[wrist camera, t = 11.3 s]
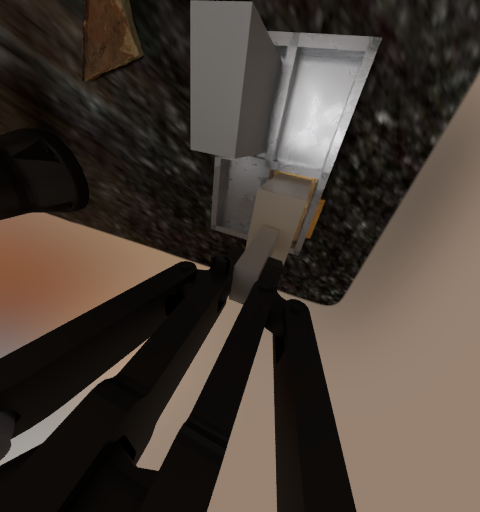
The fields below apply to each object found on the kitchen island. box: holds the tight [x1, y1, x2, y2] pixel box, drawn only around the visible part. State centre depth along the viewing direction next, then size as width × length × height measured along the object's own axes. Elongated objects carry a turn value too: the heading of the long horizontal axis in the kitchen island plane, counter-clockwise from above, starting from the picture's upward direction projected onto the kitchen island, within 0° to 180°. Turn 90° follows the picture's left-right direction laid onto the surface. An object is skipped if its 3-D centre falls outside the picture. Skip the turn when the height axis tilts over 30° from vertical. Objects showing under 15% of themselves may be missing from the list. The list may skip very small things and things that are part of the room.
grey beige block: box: [245, 173, 312, 266], centre depth 21 cm, size 4×8×10 cm, turn 170°
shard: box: [82, 0, 144, 81], centre depth 23 cm, size 11×8×2 cm
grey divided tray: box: [211, 31, 382, 256], centre depth 23 cm, size 14×20×3 cm
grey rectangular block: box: [191, 1, 282, 159], centre depth 17 cm, size 4×8×10 cm, turn 171°
